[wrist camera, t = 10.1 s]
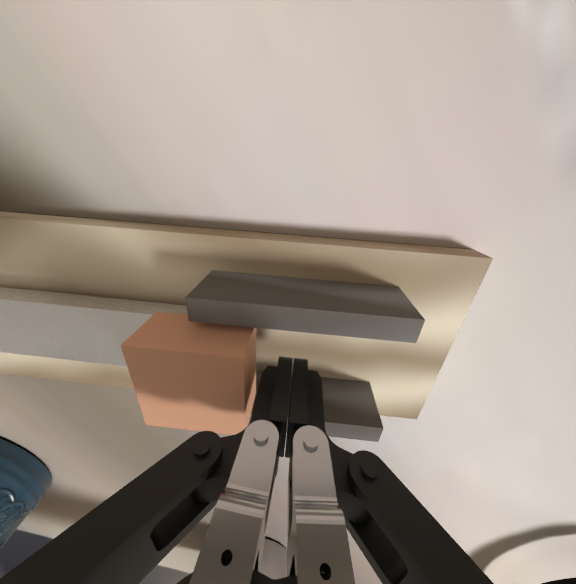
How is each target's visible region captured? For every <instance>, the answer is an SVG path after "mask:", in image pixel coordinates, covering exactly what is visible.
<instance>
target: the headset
mask: <svg viewBox="0 0 576 584" xmlns="http://www.w3.org/2000/svg"><path fill="white" fill-rule="evenodd" d="M542 584H576V578H569V579H562V580H556V581H550V582H546V583H542Z"/></svg>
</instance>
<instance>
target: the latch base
mask: <svg viewBox="0 0 576 584" xmlns="http://www.w3.org/2000/svg"><path fill="white" fill-rule="evenodd" d="M492 259H493V258H491V257H489V256H486V255H484V254H482V253H480V252H478V251H476V250H472V249H460V248H448V247H435V246H423V245H411V244H398V243H386V242H373V241H361V240H349V239H336V238H324V237H312V236H299V235H287V234H275V233H262V232H250V231H237V230H225V229H213V228H200V227H188V226H176V225H163V224H151V223H139V222H126V221H114V220H101V219H89V218H77V217H64V216H52V215H40V214H27V213H15V212H3V211H0V287H6V288H16V289H26V290H36V291H46V292H56V293H66V294H76V295H86V296H96V297H106V298H116V299H126V300H136V301H146V302H156V303H166V304H176V305H186V307H187V314H188V321H191V322H201V323H212V324H222V325H232V326H243V327H253V328H256V395H255V399H254V403H253V407H252V412H251V416H250V420H249V423H250V421H251V417H252V413H253V409H254V405H255V400H256V396H257V392H258V387H259V383H260V379H261V375H262V372H263V371H264V369H265V368H266V367H267V366H268V365H269V366H278V359H279V356H282V357H291V358H293V361H294V358H301V359H308V370H314V371H318V373H319V375H320V377H321V379H322V390H323V405H324V421H325V430H326V433H327V435H328V436H331V437H340V438H349V439H358V440H366V441H375V442H378V441H379V438H380V436H381V433H382V430H383V426H382V422H381V419H380V415H384V416H393V417H402V418H411V419H417V418H418V415H419V413H420V411H421V409H422V407H423V405H424V403H425V401H426V399H427V396H428V394H429V392H430V390H431V388H432V386H433V384H434V382H435V380H436V377H437V375H438V373H439V371H440V369H441V367H442V365H443V363H444V361H445V358H446V356H447V354H448V352H449V350H450V348H451V346H452V344H453V342H454V339H455V337H456V335H457V333H458V331H459V329H460V327H461V325H462V323H463V320H464V318H465V316H466V314H467V312H468V310H469V308H470V306H471V304H472V301H473V299H474V297H475V295H476V293H477V291H478V289H479V287H480V285H481V282H482V280H483V278H484V276H485V274H486V272H487V270H488V268H489V266H490V263H491V261H492ZM293 361H292V371H293ZM0 374H8V375H17V376H26V377H35V378H44V379H53V380H63V381H72V382H81V383H90V384H99V385H108V386H118V387H127V388H134V386H133V383H132V380H131V377H130V373H129V370H128V367H126V366H117V365H109V364H100V363H91V362H83V361H74V360H65V359H56V358H48V357H39V356H30V355H21V354H13V353H4V352H0ZM291 380H292V373H291ZM290 390H291V384H290ZM289 403H290V396H289ZM288 415H289V408H288ZM287 427H288V420H287ZM286 431H287V429H286Z"/></svg>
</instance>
